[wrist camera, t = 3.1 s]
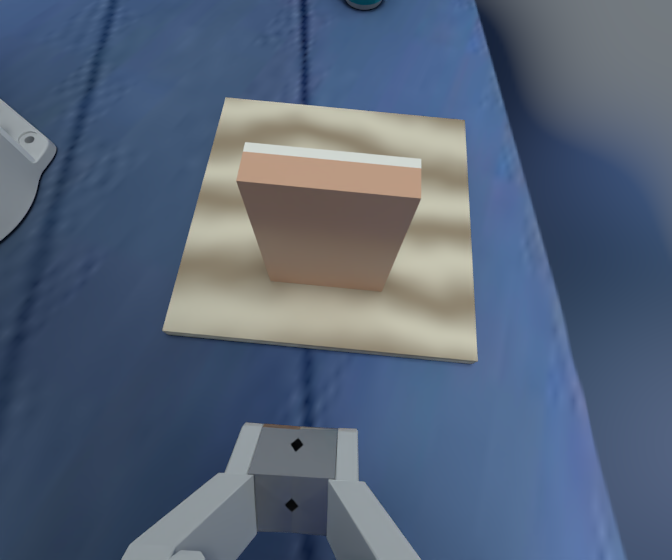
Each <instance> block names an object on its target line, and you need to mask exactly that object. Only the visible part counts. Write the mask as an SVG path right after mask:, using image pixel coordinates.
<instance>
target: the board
mask: <svg viewBox="0 0 672 560" xmlns="http://www.w3.org/2000/svg"><path fill="white" fill-rule="evenodd" d="M245 142H250V143H260V144H271V145H281V146H292V147H302V148H313V149H323V150H334V151H344V152H355V153H365V154H376V155H386V156H397V157H407V158H418V159H421V200H420V203H419V205H418V207H417V210H416V212H415V214H414V217H413V219H412V221H411V224H410V226H409V228H408V231H407V233H406V236H405V238H404V240H403V243H402V245H401V247H400V250H399V252H398V254H397V257H396V259H395V262H394V264H393V266H392V269H391V271H390V273H389V276H388V278H387V280H386V283H385V285H384V287H383V290H382V292H379V291H369V290H358V289H348V288H338V287H327V286H317V285H306V284H296V283H286V282H275V281H270V278H269V275H268V272H267V269H266V266H265V263H264V260H263V257H262V255H261V252H260V249H259V246H258V243H257V240H256V237H255V234H254V231H253V228H252V226H251V223H250V220H249V217H248V214H247V211H246V208H245V205H244V202H243V199H242V196H241V194H240V191H239V188H238V185H237V182H236V179H237V175H238V170H239V166H240V162H241V158H242V153H243V149H244V145H245ZM162 331H163V332H165V333H167V334H168V335H178V336H189V337H199V338H209V339H220V340H230V341H240V342H251V343H261V344H271V345H282V346H292V347H302V348H313V349H323V350H334V351H344V352H354V353H365V354H375V355H385V356H396V357H406V358H416V359H427V360H437V361H447V362H458V363H468V364H472V363H475V362H477V361H478V359H477V341H476V322H475V303H474V285H473V266H472V247H471V229H470V210H469V192H468V173H467V154H466V136H465V120H458V119H447V118H436V117H426V116H415V115H405V114H394V113H384V112H373V111H363V110H352V109H342V108H331V107H320V106H310V105H299V104H289V103H278V102H268V101H257V100H247V99H236V98H226V99H225V103H224V106H223V110H222V114H221V117H220V121H219V125H218V128H217V132H216V136H215V139H214V143H213V147H212V150H211V154H210V158H209V161H208V165H207V169H206V172H205V176H204V180H203V183H202V187H201V191H200V194H199V198H198V202H197V205H196V209H195V213H194V216H193V220H192V224H191V227H190V231H189V235H188V238H187V242H186V246H185V249H184V253H183V257H182V260H181V264H180V268H179V271H178V275H177V279H176V282H175V286H174V290H173V293H172V297H171V301H170V304H169V308H168V312H167V315H166V319H165V323H164V326H163V330H162Z"/></svg>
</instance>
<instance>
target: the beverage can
mask: <svg viewBox="0 0 672 560" xmlns="http://www.w3.org/2000/svg"><path fill="white" fill-rule="evenodd" d="M381 1H382V0H346V2H347V3H348V4H349V5H350V6H352V7H354V8H356V9H360V10H369V9H373V8H375V7H377V6H378V5H379V4H380V3H381Z"/></svg>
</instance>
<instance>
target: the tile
mask: <svg viewBox="0 0 672 560" xmlns="http://www.w3.org/2000/svg"><path fill="white" fill-rule="evenodd" d="M236 182H237V185H238V188H239V191H240V194H241V196H242V199H243V202H244V205H245V208H246V211H247V214H248V217H249V220H250V223H251V226H252V228H253V231H254V234H255V237H256V240H257V243H258V246H259V249H260V252H261V255H262V257H263V260H264V263H265V266H266V269H267V272H268V275H269V278H270V281H275V282H286V283H296V284H306V285H317V286H327V287H338V288H348V289H358V290H369V291H379V292H382V290H383V287H384V285H385V283H386V280H387V278H388V276H389V273H390V271H391V269H392V266H393V264H394V262H395V259H396V257H397V254H398V252H399V250H400V247H401V245H402V243H403V240H404V238H405V236H406V233H407V231H408V228H409V226H410V224H411V221H412V219H413V217H414V214H415V212H416V210H417V207H418V205H419V203H420V200H421V159H418V158H407V157H397V156H386V155H376V154H365V153H355V152H344V151H334V150H323V149H313V148H302V147H292V146H281V145H271V144H260V143H250V142H245V145H244V149H243V153H242V158H241V162H240V166H239V170H238V175H237V179H236Z"/></svg>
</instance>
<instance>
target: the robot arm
mask: <svg viewBox="0 0 672 560" xmlns="http://www.w3.org/2000/svg"><path fill="white" fill-rule="evenodd" d="M55 153H56V146H55V145H54V143H52V142H51V141H50V140H49V139H48V138H47V137H45V136H44V135H43V134H42V133H41V132H39V131H38V130H37V129H36V128H35V127H33V126H32V125H31V124H30V123H29V122H28V121H26V120H25V119H24V118H23V117H22V116H20V115H19V114H18V113H17V112H16V111H14V110H13V109H12V108H11V107H10V106H8V105H7V104H6V103H5V102H4V101H2V100H1V99H0V241H1V240H2V239H3V238H4V237H6V236H7V235H8V234H9V233H10V232H11V231H12V230H13V229H14V228H15V227H16V226H17V225H18V224H19V222H20V221H21V220H22V219H23V217H24V216H25V214H26V213H27V211H28V210H29V208H30V206H31V204H32V202H33V200H34V197H35V194H36V191H37V187H38V182H39V179H40V176H41V173H42V172H43V171H44V169H45V168H46V167H47V165H48V164H49V163H50V161H51V160H52V158H53V157H54V155H55ZM337 433H338V437H337ZM257 531H263V532H292V533H302V534H312V535H323V536H327V540H328V542H329V544H330V546H331V549H332V551H333V553H334V555H335V557H336V559H337V560H421V559H420V557H419V556H418V555H417V553H416V552H415V550H414V549H413V548H412V546H411V545H410V544H409V542H408V541H407V539H406V538H405V537H404V535H403V534H402V533H401V531H400V530H399V528H398V527H397V526H396V524H395V523H394V522H393V520H392V519H391V517H390V516H389V515H388V513H387V512H386V511H385V509H384V508H383V506H382V505H381V504H380V502H379V501H378V500H377V498H376V497H375V496H374V494H373V493H372V491H371V490H370V489H369V487H368V486H367V485H366V483H365V482H361V481H359V476H358V431H357V429H348V428H321V427H299V426H287V425H275V424H257V423H245V424H244V425H243V426H242V429H241V431H240V434H239V436H238V439H237V442H236V444H235V447H234V449H233V452H232V454H231V457H230V460H229V462H228V465H227V467H226V470H225V473H218V474H216V475H215V476H214V477H213V478H211V479H210V480H209V481H208V482H206V483H205V484H204V485H203V486H201V487H200V488H199V489H198V490H196V491H195V492H194V493H193V494H192V495H190V496H189V497H188V498H187V499H185V500H184V501H183V502H182V503H180V504H179V505H178V506H177V507H175V508H174V509H173V510H172V511H170V512H169V513H168V514H167V515H165V516H164V517H163V518H162V519H160V520H159V521H158V522H157V523H156V524H154V525H153V526H152V527H151V528H149V529H148V530H147V531H146V532H144V533H143V534H142V535H141V536H139V537H138V538H137V539H136V540H134V541H133V542H132V543H131V544H130V545H129V547H128V548H127V550H126V552H125V554H124V556H123V557H122V559H121V560H236V559H237V558H238V557H239V555H240V554H241V553H242V552H243V551H244V549H245V548H246V547H247V546H248V544H249V543H250V542H251V541H252V539H253V538H254V537H255V536H256V534H257Z"/></svg>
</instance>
